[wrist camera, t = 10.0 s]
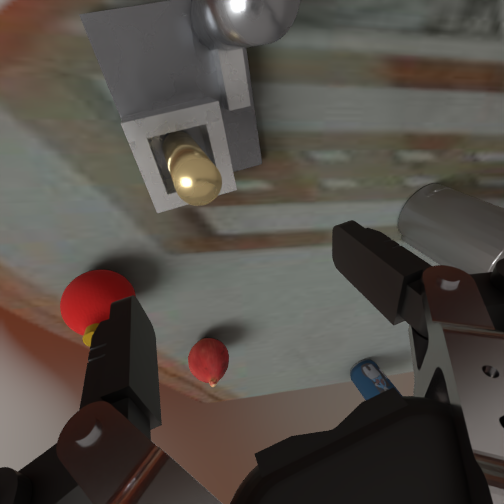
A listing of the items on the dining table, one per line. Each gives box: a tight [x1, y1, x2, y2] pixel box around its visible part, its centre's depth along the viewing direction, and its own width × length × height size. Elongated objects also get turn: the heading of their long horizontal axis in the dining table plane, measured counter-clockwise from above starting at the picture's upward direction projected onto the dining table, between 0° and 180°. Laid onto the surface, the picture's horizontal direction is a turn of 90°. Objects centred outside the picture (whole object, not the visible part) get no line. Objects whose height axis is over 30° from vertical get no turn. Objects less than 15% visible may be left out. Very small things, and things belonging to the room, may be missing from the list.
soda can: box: [350, 359, 403, 400], centre depth 62 cm, size 7×7×12 cm
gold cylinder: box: [162, 131, 222, 206], centre depth 23 cm, size 3×3×10 cm
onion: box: [188, 338, 229, 387], centre depth 40 cm, size 6×6×8 cm
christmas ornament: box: [60, 270, 136, 346], centre depth 29 cm, size 7×7×10 cm
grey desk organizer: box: [79, 0, 300, 213], centre depth 21 cm, size 15×12×11 cm
